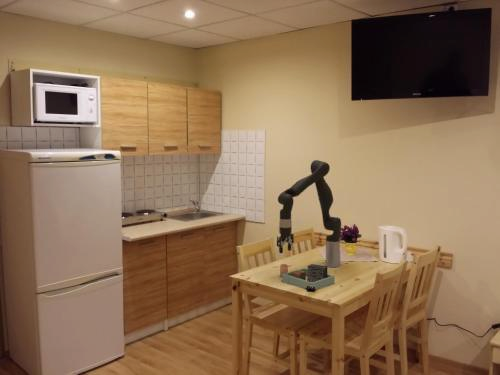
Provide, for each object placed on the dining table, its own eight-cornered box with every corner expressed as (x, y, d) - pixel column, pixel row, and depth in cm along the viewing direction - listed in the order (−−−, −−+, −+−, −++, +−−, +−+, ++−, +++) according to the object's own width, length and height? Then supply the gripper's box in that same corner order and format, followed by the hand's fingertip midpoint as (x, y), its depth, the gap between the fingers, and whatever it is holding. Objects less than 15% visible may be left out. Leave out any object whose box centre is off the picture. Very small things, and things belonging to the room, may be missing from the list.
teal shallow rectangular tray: (304, 274, 292) (304, 267, 292) (334, 283, 275) (334, 276, 274) (281, 281, 279) (281, 274, 279) (312, 290, 261) (312, 283, 261)
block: (298, 279, 283) (298, 269, 283) (305, 281, 279) (305, 272, 278) (291, 281, 279) (291, 271, 279) (298, 283, 275) (299, 273, 274)
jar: (283, 275, 292) (283, 263, 292) (289, 276, 289) (289, 264, 288) (278, 276, 289) (278, 264, 288) (284, 278, 286) (284, 266, 285)
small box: (327, 282, 276) (328, 265, 275) (323, 285, 270) (324, 268, 269) (311, 280, 281) (311, 263, 280) (307, 283, 276) (307, 265, 275)
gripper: (283, 228, 277) (283, 254, 279) (297, 225, 287) (296, 250, 289) (273, 226, 282) (273, 252, 283) (287, 223, 292) (287, 248, 294)
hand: (285, 251), depth 286 cm, fingers open, 8 cm apart
